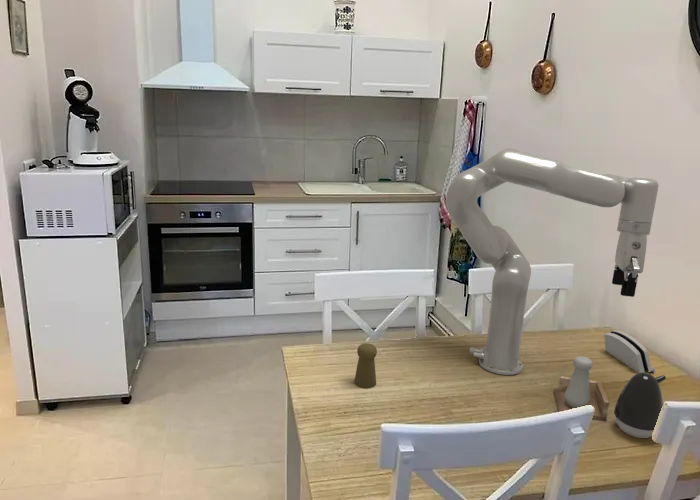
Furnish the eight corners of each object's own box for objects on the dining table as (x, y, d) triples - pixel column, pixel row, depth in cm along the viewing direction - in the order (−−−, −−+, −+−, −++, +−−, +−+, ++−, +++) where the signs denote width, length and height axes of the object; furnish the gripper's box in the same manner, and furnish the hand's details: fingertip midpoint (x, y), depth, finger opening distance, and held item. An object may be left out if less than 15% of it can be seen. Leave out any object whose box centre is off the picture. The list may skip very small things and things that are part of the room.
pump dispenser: (670, 442, 125) (683, 382, 122) (631, 446, 123) (643, 385, 119) (638, 418, 135) (650, 362, 131) (602, 421, 133) (612, 364, 129)
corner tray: (558, 413, 135) (561, 395, 134) (553, 392, 146) (556, 375, 144) (605, 421, 133) (609, 402, 132) (597, 399, 143) (600, 381, 142)
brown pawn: (379, 380, 147) (382, 343, 145) (371, 390, 142) (373, 352, 139) (359, 375, 150) (361, 338, 147) (350, 385, 144) (352, 347, 142)
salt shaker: (588, 413, 134) (597, 365, 131) (564, 408, 136) (571, 361, 132) (587, 402, 139) (595, 356, 136) (563, 397, 141) (570, 351, 138)
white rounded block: (656, 373, 159) (652, 344, 156) (642, 379, 159) (638, 350, 156) (618, 349, 175) (614, 322, 172) (605, 354, 175) (600, 328, 172)
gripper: (660, 235, 130) (647, 302, 134) (640, 221, 146) (629, 282, 150) (626, 232, 131) (614, 298, 136) (610, 219, 148) (600, 279, 152)
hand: (622, 290), depth 143 cm, fingers open, 9 cm apart
